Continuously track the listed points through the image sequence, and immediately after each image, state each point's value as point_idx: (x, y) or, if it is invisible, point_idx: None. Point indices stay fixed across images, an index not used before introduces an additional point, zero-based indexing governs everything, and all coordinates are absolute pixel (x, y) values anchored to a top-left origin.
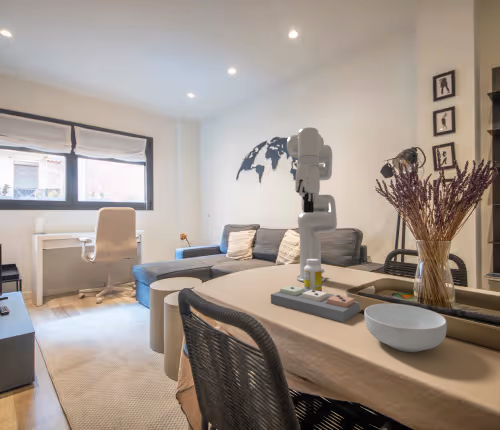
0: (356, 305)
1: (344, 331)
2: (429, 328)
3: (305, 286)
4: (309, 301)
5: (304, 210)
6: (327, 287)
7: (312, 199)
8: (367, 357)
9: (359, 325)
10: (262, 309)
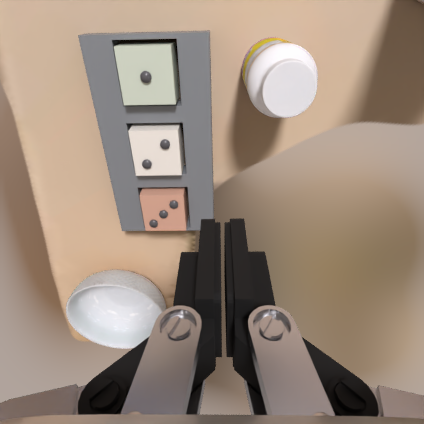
0: None
1: (97, 234)
2: (93, 341)
3: (247, 56)
4: (119, 158)
5: (201, 233)
6: (359, 69)
7: (245, 386)
8: (58, 274)
9: (137, 239)
10: (35, 55)
